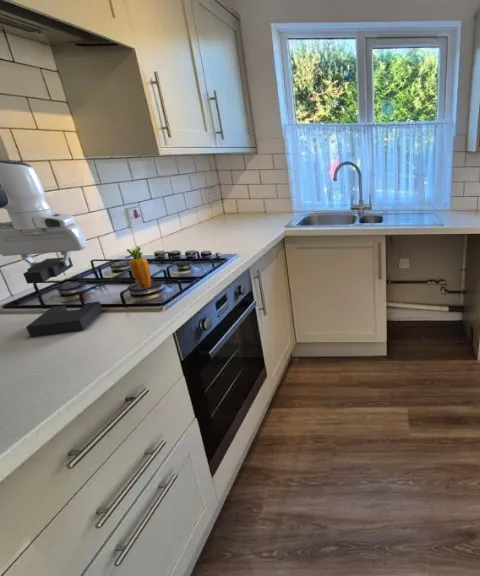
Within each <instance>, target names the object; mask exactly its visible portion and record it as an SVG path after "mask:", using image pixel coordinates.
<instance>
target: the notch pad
mask: <svg viewBox="0 0 480 576" xmlns="http://www.w3.org/2000/svg"><path fill="white" fill-rule="evenodd" d="M103 311H104V310H103V308H102V305H101V302H100V301H92V302H86V303H84V305H82V306H81V307H80V308H79V309H74V310H73V309H72V310H68V309H67V307H66V305H58V306H57V305H56V306H51V307H50V308H49V309H47V310H46V311H45V312H43V313H42V314H41V315H39V316H38V317H37V318H36V319H34V320H33V321H32V322H31V323H29V324H28V325H26V327H25V329H26V330H27V332H28V334H29V336H30V338H34V337H42V336H48V335H57V334H65V333H72V332H80V331H85V329H86V328H87V327H88V326H90V324H92V322H93V321H94V320H95V319H96V318H97V317H98V316H99V315H100V314H101V313H102V312H103Z"/></svg>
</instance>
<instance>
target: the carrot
mask: <svg viewBox="0 0 480 576" xmlns="http://www.w3.org/2000/svg"><path fill="white" fill-rule="evenodd" d="M141 249H142V247H140V246H137V247H136V248H135V249H132V251H131V250H130V249H129V248H127V249H126V251H127V252H128V254H130V256H131V257H133V258H132V259H130V260H129V261H128V265H129V268H130V271H131V273H132V275H133V277H134V279H135V281H136V282H137V284H138V285H139V286H140V288H141V289H143V288H149V287H150V288H151V283H152V277H151V269H150V265H149V262H148V260H147V258H145V257H143V256H142V255H143V252H141ZM150 288H149V289H146V290H144V291H145V292H149V291H150Z"/></svg>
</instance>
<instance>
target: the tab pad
mask: <svg viewBox="0 0 480 576" xmlns="http://www.w3.org/2000/svg"><path fill="white" fill-rule="evenodd" d="M62 259H63V257H53V258H52V257H51V258H46V259H43V260H42V261H39V263H38V264H36V265H34V266H32V267H30V266H29V267H28V268H27V271H25V272H23V273H22V275H23V277H24V279H25V281H26V282H25V283H26V284H39V283H45V282H46V281H49V279H51V278H57V277H59V276H60V275H62V274H63V273H64V272H67V271H68V270H69V269H71V268H72V267H74V265H73V262H72V259H71V256H69V259H68V260H69V263H70V265H69V266H61V264H60V262H59V261H61V260H62Z"/></svg>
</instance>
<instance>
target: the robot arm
mask: <svg viewBox="0 0 480 576" xmlns="http://www.w3.org/2000/svg"><path fill="white" fill-rule="evenodd" d="M43 187H44V186H43V184H42V183H41V180H40V178H39V176H38V174H37V172H36V171H35V169H34V168H33V166H31V165H30V164H28V163H26V162H24V161H19V160H11V159H0V209H4V210H6V212H7V215H8V217H9V219H10V221H5V222H0V256H2V257H13V256H20V257H21V259H22V260H23V261H24V262H26V263H27V264H28V265H29V268H30V267H32V266H34V265H36V264H38V263H40V261H36V260H35V259H34V258H32V257H33V255H37V254H39V255H40V254H51V253H60V255H61V256H63V257H62V258H63V259H62V260H61V261H59V262H60V264H61V266H69V265H70V263H69V260H68V259H69V257H71V252H77V251H78V252H79V251H82V250H84V249H85V248H86V247H87V245H88V243H87V240H86V237H85V235H84V232H83V231H82V229H81V228H80V226H79V225H78V224H75V223H76V217H75V216H73V215H71V214H66V213H61V212H57V211H52V210H51V207H50V205H49V203H47V201H46V194H45V190H44V188H43Z"/></svg>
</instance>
